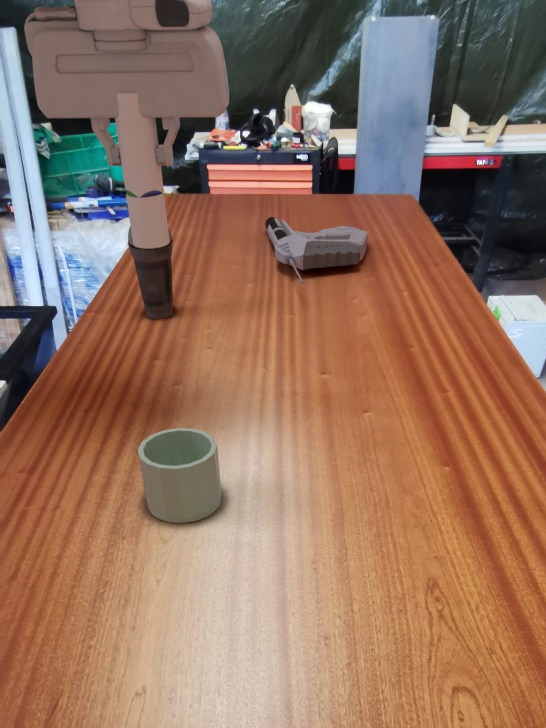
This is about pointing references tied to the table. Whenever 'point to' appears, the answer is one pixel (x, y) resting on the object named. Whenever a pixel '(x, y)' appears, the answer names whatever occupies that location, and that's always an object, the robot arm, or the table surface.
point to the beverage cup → (154, 277)
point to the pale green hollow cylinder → (180, 474)
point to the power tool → (316, 246)
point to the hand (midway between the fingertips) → (141, 164)
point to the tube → (141, 174)
